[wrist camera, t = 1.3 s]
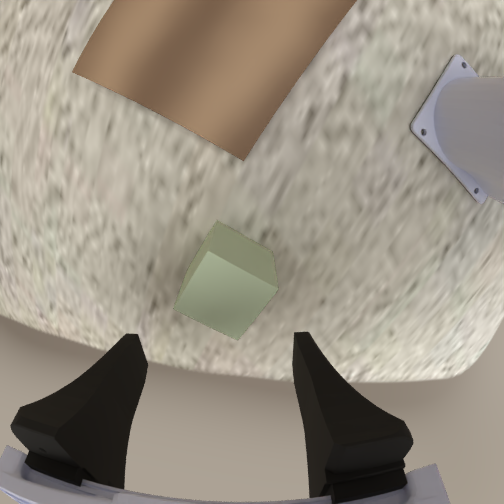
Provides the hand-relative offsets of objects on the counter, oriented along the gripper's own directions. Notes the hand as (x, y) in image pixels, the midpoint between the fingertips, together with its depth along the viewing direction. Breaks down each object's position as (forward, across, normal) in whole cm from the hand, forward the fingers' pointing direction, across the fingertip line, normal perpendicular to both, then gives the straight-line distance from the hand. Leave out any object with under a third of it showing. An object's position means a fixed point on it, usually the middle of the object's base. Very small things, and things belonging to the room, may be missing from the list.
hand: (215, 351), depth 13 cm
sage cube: (+10, 0, 0) cm, 10 cm away
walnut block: (+9, 0, -16) cm, 18 cm away
